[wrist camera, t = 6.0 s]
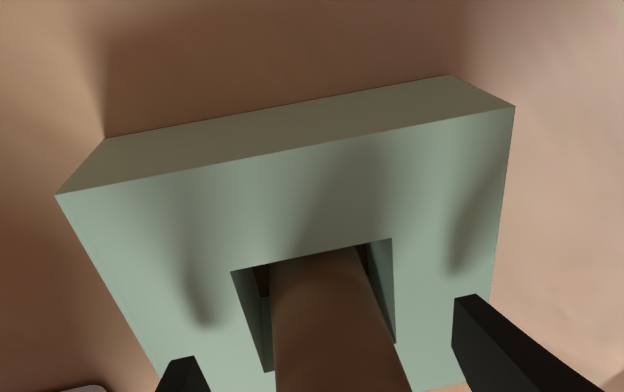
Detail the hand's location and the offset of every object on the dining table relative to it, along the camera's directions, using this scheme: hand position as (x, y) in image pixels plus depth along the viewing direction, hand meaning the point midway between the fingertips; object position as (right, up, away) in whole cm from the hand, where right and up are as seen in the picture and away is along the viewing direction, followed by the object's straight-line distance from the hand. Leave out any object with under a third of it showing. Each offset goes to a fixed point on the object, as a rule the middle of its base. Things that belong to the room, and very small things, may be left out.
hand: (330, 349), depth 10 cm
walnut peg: (-1, +3, +4) cm, 5 cm away
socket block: (-1, +2, +4) cm, 5 cm away
